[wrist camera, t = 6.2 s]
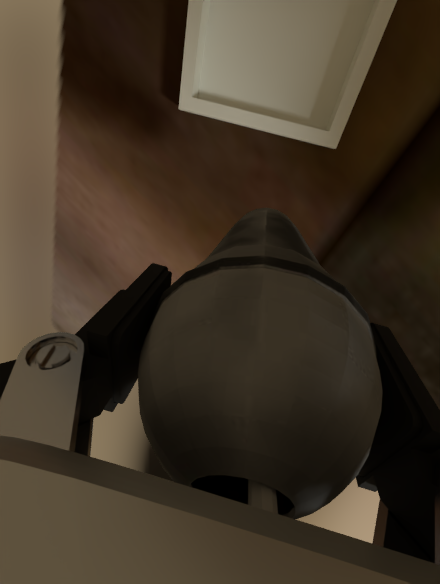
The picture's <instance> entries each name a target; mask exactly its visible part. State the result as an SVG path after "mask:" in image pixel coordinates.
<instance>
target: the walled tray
mask: <svg viewBox="0 0 440 584" xmlns="http://www.w3.org/2000/svg"><path fill="white" fill-rule="evenodd" d="M396 2H397V0H189V3H188V13H187V24H186V35H185V45H184V56H183V67H182V77H181V88H180V99H179V109H180V110H183V111H186V112H189V113H193V114H197V115H201V116H205V117H209V118H213V119H217V120H221V121H225V122H229V123H232V124H236V125H240V126H244V127H248V128H252V129H256V130H260V131H264V132H268V133H272V134H276V135H280V136H284V137H288V138H291V139H295V140H299V141H303V142H307V143H311V144H315V145H319V146H323V147H327V148H332V149H336V147H337V145H338V143H339V140H340V138H341V135H342V133H343V131H344V128H345V126H346V123H347V121H348V118H349V116H350V114H351V111H352V109H353V106H354V104H355V101H356V99H357V97H358V94H359V92H360V89H361V87H362V84H363V82H364V80H365V77H366V75H367V72H368V70H369V67H370V65H371V63H372V60H373V58H374V55H375V53H376V50H377V48H378V46H379V43H380V41H381V38H382V36H383V33H384V31H385V29H386V26H387V24H388V21H389V19H390V16H391V14H392V12H393V9H394V7H395V4H396Z"/></svg>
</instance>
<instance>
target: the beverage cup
mask: <svg viewBox="0 0 440 584" xmlns="http://www.w3.org/2000/svg"><path fill="white" fill-rule="evenodd" d="M138 386H139V405H140V415H141V419H142V423H143V426H144V430H145V433H146V435H147V438H148V440H149V442H150V444H151V446H152V448H153V450H154V452H155V454H156V456H157V458H158V460H159V462H160V464H161V466H162V467H163V468H164V470H165V471H166V472H167V474H168V475H169V476H170V477H171V479H172V480H173V481H174V482H175V483H179V484H182V485H185V486H189V487H192V488H195V489H198V490H202V491H205V492H208V493H211V494H215V495H218V496H221V497H224V498H228V499H231V500H234V501H237V502H240V503H244V504H247V505H250V506H253V507H256V508H260V509H263V510H266V511H269V512H273V513H276V514H279V515H282V516H285V517H289V518H292V519H298V518H301V517H304V516H307V515H310V514H312V513H314V512H315V511H317V510H319V509H320V508H322V507H324V506H325V505H327V504H328V503H330V502H331V501H332V500H333V499H334V498H335V497H337V496H338V495H339V494H340V493H341V492H342V491H343V490H344V489H345V488H346V487H347V486H348V485H349V484H350V483H351V482H352V480H353V479H354V478H355V477H356V476H357V475H358V473H359V472H360V470H361V468H362V466H363V465H364V463H365V461H366V459H367V457H368V455H369V452H370V449H371V445H372V442H373V438H374V435H375V432H376V428H377V425H378V421H379V418H380V414H381V407H382V392H383V390H382V383H381V376H380V370H379V367H378V363H377V359H376V345H375V341H374V337H373V333H372V329H371V325H370V321H369V317H368V314H367V313H366V312H365V311H364V309H363V308H362V307H361V306H360V305H359V303H358V302H357V301H356V300H355V298H354V297H353V296H352V295H351V294H350V292H349V291H348V290H347V289H346V287H345V286H343V285H341V284H340V283H338V282H336V281H335V280H334V279H333V277H332V276H331V275H329V274H328V273H327V272H326V271H325V270H324V269H323V268H322V267H321V266H320V264H319V263H318V261H317V260H316V258H315V256H314V255H313V253H312V252H311V250H310V248H309V247H308V245H307V244H306V242H305V240H304V239H303V237H302V236H301V234H300V232H299V231H298V229H297V228H296V227H295V225H294V224H293V223H292V222H291V220H290V219H289V218H288V217H287V216H286V215H285V214H283V213H281V212H280V211H278V210H275V209H270V208H261V209H256V210H253V211H251V212H249V213H247V214H246V215H245V216H244V217H242V218H241V219H240V220H239V221H238V222H237V223H236V224H235V225H234V226H233V227H232V228H231V230H230V231H229V232H228V233H227V235H226V236H225V237H224V238H223V239H222V241H221V242H220V243H219V244H218V246H217V247H216V248H215V249H214V250H213V252H212V253H211V254H210V255H209V257H208V258H207V259H206V260H205V261H203V262H202V263H201V264H199V265H198V266H197V267H196V268H195V269H192V270H190V271H187V272H186V273H185V274H183V275H182V276H181V277H180V278H179V279H178V280H177V281H176V282H175V283H173V284H172V285H171V286H170V287H169V288H168V289H167V290H166V291H164V292H163V294H162V296H161V298H160V300H159V302H158V305H157V307H156V309H155V311H154V313H153V316H152V319H151V322H150V329H149V331H148V333H147V335H146V338H145V340H144V343H143V347H142V350H141V353H140V359H139V369H138Z"/></svg>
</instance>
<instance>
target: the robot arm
mask: <svg viewBox="0 0 440 584" xmlns="http://www.w3.org/2000/svg"><path fill="white" fill-rule="evenodd" d="M171 277H172V273H171V272H170V271H168V268H167V267H165V266H162V265H158V264H154V263H152V264H151V265H150V266H149V267H148V268H147V269H146V270H145V271H144V272H143V273H142V274H141V275H140V276H139V277H138V278H137V279H136V280H135V281H134V282H133V283H132V284H131V285H130V286H129V287H128V288H127V289H126V290H120V291H119V292H118V293H117V294H116V295H115V296H114V297H113V298H112V299H111V300H110V301H109V302H108V303H107V304H105V305H104V306H103V307H102V308H101V309H100V310H99V311H98V312H97V313H96V314H95V315H94V316H93V317H92V318H91V319H90V320H89V321H88V322H87V323H86V324H85V325H84V326H83V327H82V328H81V329H80V330H79V331H78V332H77V333H76V334H75V335H74V334H70V333H63V332H57V333H51V334H46V335H43V336H41V337H38V338H36V339H35V340H33V341H31V342H29V343H28V344H27V345H26V346H25V347H24V348H23V349H22V350H21V352H20V353H19V355H18V358H17V360H13V361H9V362H6V363H1V364H0V584H440V410H439V408H438V407H437V405H436V403H435V402H434V400H433V399H432V397H431V395H430V394H429V392H428V391H427V389H426V387H425V386H424V384H423V382H422V381H421V379H420V378H419V376H418V374H417V373H416V371H415V369H414V368H413V366H412V365H411V363H410V361H409V360H408V358H407V356H406V355H405V353H404V352H403V350H402V348H401V347H400V345H399V343H398V342H397V340H396V339H395V337H394V335H393V334H392V332H391V330H390V329H389V328H388V327H385V326H381V325H378V324H374V323H370V325H371V329H372V333H373V337H374V341H375V345H376V359H377V363H378V367H379V370H380V376H381V383H382V390H383V392H382V407H381V414H380V418H379V421H378V425H377V428H376V432H375V435H374V438H373V442H372V445H371V449H370V452H369V455H368V457H367V459H366V461H365V463H364V465H363V466H362V468H361V470H360V472H359V473H358V475H357V476H356V480H357V484H358V487H361V488H365V489H368V490H371V491H374V492H376V491H377V490H378V493H379V496H380V502H379V508H378V514H377V520H376V526H375V532H374V538H373V543H372V544H371V543H368V542H365V541H362V540H359V539H356V538H352V537H349V536H346V535H343V534H340V533H336V532H333V531H330V530H327V529H324V528H321V527H317V526H314V525H311V524H308V523H304V522H301V521H298V520H295V519H292V518H289V517H285V516H282V515H279V514H276V513H273V512H269V511H266V510H263V509H260V508H256V507H253V506H250V505H247V504H244V503H240V502H237V501H234V500H231V499H228V498H224V497H221V496H218V495H215V494H211V493H208V492H205V491H202V490H198V489H195V488H192V487H189V486H185V485H182V484H179V483H175V482H172V481H169V480H166V479H162V478H159V477H156V476H153V475H149V474H146V473H143V472H139V471H136V470H133V469H130V468H126V467H123V466H120V465H116V464H113V463H109V462H106V461H103V460H99V459H96V458H92V457H90V452H91V441H92V429H93V418H94V417H97V416H99V415H100V414H101V412H102V411H103V410H107V411H110V412H113V411H114V409H115V407H116V406H117V404H118V403H120V404H123V403H124V401H125V400H126V398H127V396H128V394H129V393H130V391H131V389H132V388H133V386H134V383H135V382H136V380H137V379H138V369H139V359H140V353H141V350H142V347H143V343H144V340H145V338H146V335H147V333H148V331H149V329H150V322H151V319H152V316H153V313H154V311H155V309H156V307H157V305H158V302H159V300H160V298H161V296H162V294H163V292H164V291H166V290H167V289H168V288H169V287H170V286H171Z"/></svg>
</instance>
